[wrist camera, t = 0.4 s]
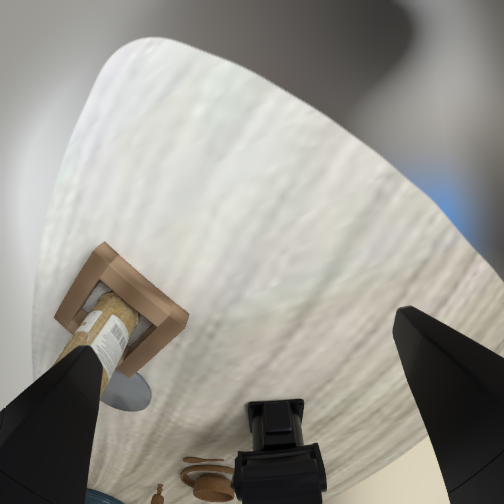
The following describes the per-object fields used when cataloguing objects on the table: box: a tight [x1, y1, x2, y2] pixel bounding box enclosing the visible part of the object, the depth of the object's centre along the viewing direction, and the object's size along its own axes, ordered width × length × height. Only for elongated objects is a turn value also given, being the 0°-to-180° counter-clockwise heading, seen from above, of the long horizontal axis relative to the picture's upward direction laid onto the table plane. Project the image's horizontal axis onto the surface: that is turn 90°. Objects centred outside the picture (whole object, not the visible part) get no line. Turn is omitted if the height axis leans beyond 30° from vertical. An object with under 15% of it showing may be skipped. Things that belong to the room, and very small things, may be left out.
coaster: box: [100, 368, 151, 411], centre depth 29 cm, size 9×9×1 cm
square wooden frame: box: [54, 242, 189, 378], centre depth 25 cm, size 10×10×2 cm
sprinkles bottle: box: [52, 292, 139, 398], centre depth 19 cm, size 5×5×13 cm
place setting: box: [151, 457, 235, 504], centre depth 37 cm, size 18×20×6 cm
